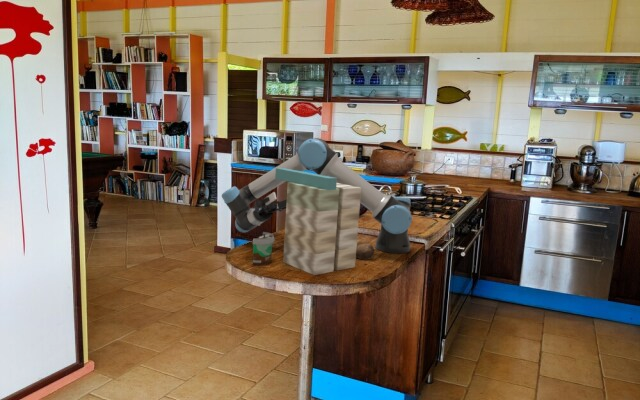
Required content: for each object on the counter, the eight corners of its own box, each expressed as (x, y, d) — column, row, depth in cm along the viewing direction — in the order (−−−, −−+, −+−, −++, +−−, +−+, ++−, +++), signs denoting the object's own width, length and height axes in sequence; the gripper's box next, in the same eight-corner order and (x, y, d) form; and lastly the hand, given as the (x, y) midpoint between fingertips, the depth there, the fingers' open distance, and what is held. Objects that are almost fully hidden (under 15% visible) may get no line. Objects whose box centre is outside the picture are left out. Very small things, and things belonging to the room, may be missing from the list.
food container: (267, 267, 180) (269, 240, 179) (251, 265, 181) (252, 238, 180) (277, 258, 192) (279, 233, 191) (262, 257, 193) (263, 231, 192)
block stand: (283, 262, 188) (287, 182, 184) (322, 255, 202) (328, 181, 197) (314, 275, 175) (320, 189, 170) (354, 267, 188) (361, 187, 184)
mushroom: (363, 246, 208) (364, 236, 203) (377, 257, 204) (378, 247, 199) (349, 256, 204) (350, 247, 200) (364, 268, 200) (365, 258, 196)
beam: (275, 178, 193) (275, 168, 193) (283, 178, 196) (284, 168, 195) (327, 190, 171) (328, 178, 171) (336, 189, 174) (336, 178, 173)
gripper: (286, 219, 213) (317, 202, 198) (236, 224, 197) (264, 206, 181) (282, 203, 215) (311, 184, 200) (231, 206, 198) (259, 186, 183)
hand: (289, 194), depth 190 cm, fingers open, 13 cm apart
